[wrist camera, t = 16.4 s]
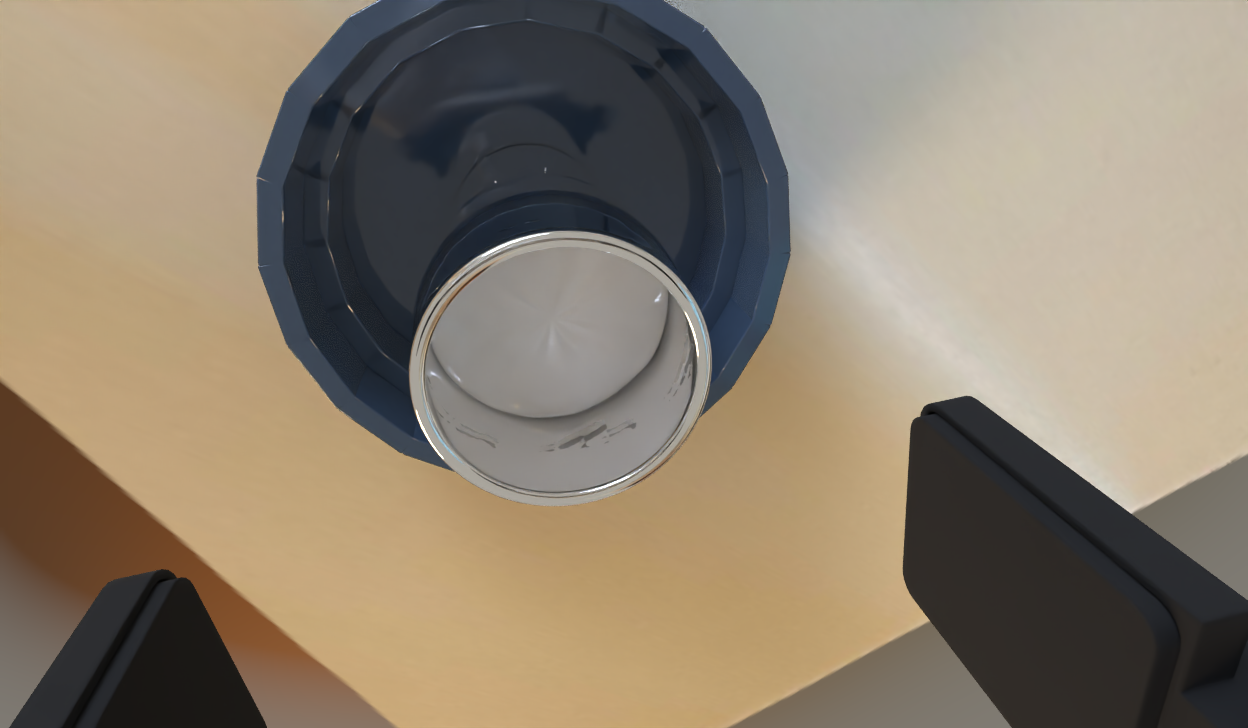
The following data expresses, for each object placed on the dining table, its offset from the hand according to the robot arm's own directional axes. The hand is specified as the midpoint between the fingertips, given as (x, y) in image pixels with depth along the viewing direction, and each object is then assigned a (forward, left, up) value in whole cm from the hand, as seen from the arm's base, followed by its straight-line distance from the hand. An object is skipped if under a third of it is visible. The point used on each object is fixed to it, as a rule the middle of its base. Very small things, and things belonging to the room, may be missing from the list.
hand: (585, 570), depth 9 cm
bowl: (0, -1, -22) cm, 22 cm away
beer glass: (0, 0, -22) cm, 22 cm away
